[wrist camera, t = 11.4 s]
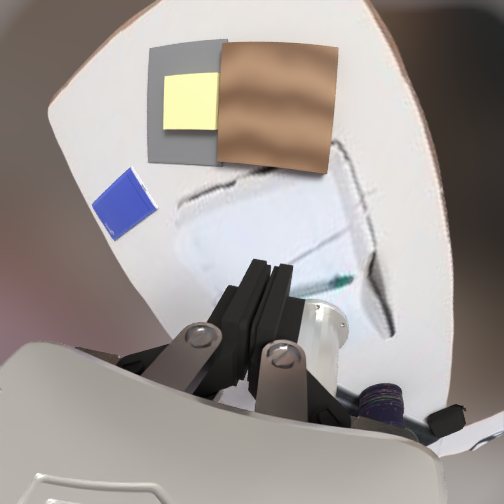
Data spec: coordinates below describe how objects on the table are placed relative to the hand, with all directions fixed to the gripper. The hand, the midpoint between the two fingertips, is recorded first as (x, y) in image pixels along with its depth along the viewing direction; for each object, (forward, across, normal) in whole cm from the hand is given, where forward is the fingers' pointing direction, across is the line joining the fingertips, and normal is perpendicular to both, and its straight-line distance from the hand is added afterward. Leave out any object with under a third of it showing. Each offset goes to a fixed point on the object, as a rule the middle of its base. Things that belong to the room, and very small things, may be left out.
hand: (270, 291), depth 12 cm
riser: (+27, +5, -8) cm, 29 cm away
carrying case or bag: (+28, -48, +52) cm, 76 cm away
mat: (+27, +18, -8) cm, 34 cm away
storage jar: (+27, -23, +43) cm, 56 cm away
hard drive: (+28, +30, +9) cm, 42 cm away
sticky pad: (+27, +16, -8) cm, 32 cm away
